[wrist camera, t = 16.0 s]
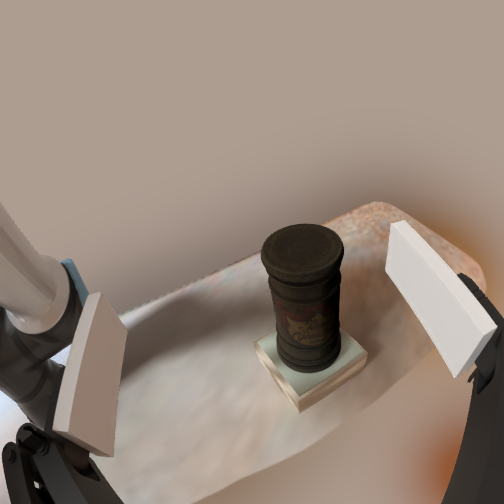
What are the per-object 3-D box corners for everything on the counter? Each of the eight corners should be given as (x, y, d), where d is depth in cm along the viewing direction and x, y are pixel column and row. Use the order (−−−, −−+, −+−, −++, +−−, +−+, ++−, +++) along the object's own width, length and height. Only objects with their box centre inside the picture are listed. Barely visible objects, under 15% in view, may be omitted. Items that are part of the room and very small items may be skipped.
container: (268, 337, 42) (244, 238, 31) (321, 314, 44) (317, 212, 33) (293, 385, 35) (277, 289, 24) (352, 356, 36) (364, 253, 26)
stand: (258, 358, 45) (252, 340, 42) (318, 322, 49) (317, 303, 46) (299, 413, 36) (297, 400, 33) (364, 368, 40) (368, 351, 37)
